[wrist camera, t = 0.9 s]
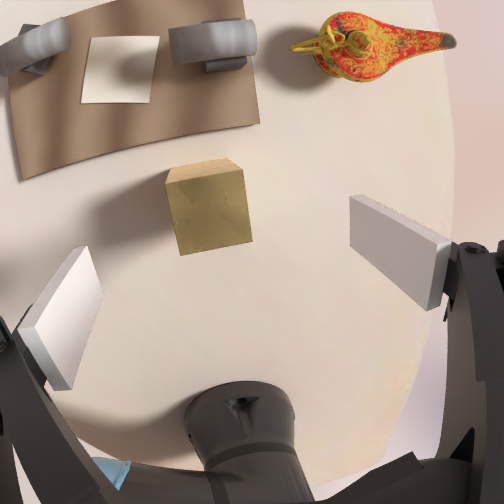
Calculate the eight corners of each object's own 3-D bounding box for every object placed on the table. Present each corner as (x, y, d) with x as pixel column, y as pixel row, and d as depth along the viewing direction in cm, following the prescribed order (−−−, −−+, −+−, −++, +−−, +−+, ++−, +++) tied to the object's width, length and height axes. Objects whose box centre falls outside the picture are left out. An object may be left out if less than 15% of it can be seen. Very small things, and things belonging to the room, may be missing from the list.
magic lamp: (423, 76, 27) (498, 73, 17) (276, 100, 26) (330, 86, 16) (407, 21, 24) (478, 3, 14) (255, 32, 23) (296, -16, 13)
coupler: (181, 221, 28) (180, 256, 21) (170, 168, 26) (164, 183, 19) (234, 211, 29) (252, 241, 22) (226, 158, 27) (242, 169, 20)
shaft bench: (28, 177, 23) (-3, 191, 18) (13, 45, 17) (-18, 33, 12) (257, 123, 26) (275, 123, 21) (237, -14, 20) (250, -43, 15)
